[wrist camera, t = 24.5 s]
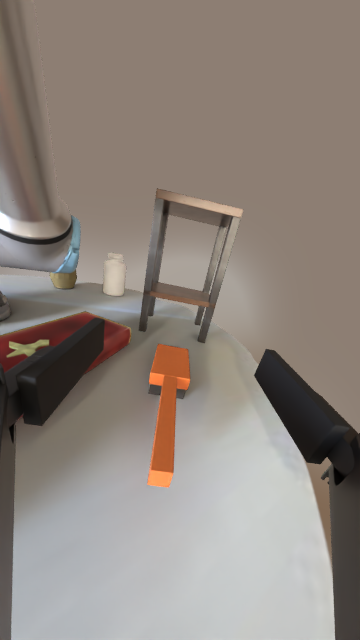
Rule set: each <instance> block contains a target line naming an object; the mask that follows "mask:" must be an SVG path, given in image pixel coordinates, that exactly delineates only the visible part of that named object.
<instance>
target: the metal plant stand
mask: <svg viewBox="0 0 360 640" xmlns="http://www.w3.org/2000/svg"><path fill="white" fill-rule="evenodd" d="M242 212H243V209H239V208H235V207H231V206H226V205H223V204H219V203H215V202H211V201H207V200H203V199H198V198H194V197H190V196H186V195H182V194H178V193H174V192H170V191H166V190H161V189H157V191H156V199H155V208H154V215H153V223H152V231H151V239H150V246H149V254H148V262H147V270H146V278H145V286H144V294H143V302H142V310H141V317H140V325H139V331H143V332H145V331H146V328H147V321H148V316H153V312H154V305H155V299H156V297H158V298H163V299H168V300H173V301H178V302H183V303H188V304H193V305H198V306H199V308H198V312H197V316H196V320H195V325H200V323H201V319H202V316H203V312H204V308H205V307H207V308H206V311H205V315H204V319H203V322H202V326H201V330H200V333H199V337H198V341H199V342H202V343H205V339H206V336H207V333H208V329H209V326H210V322H211V319H212V315H213V312H214V308H215V305H216V301H217V298H218V295H219V291H220V288H221V285H222V281H223V278H224V274H225V271H226V267H227V264H228V261H229V257H230V253H231V250H232V247H233V244H234V240H235V237H236V233H237V230H238V226H239V223H240V219H241V216H242ZM168 215H173V216H177V217H182V218H185V219H190V220H194V221H198V222H203V223H207V224H211V225H215V226H219V229H218V233H217V237H216V241H215V245H214V249H213V253H212V257H211V261H210V265H209V269H208V273H207V276H206V280H205V284H204V288H203V291H198V290H193V289H188V288H183V287H179V286H173V285H169V284H164V283H159V282H158V280H159V273H160V267H161V260H162V254H163V247H164V241H165V234H166V228H167V221H168ZM228 225H229V227H228V231H227V235H226V238H225V242H224V246H223V249H222V253H221V257H220V261H219V264H218V267H217V271H216V275H215V279H214V282H213V286H212V290H211V293H210V295H209V294H208V293H209V290H210V286H211V282H212V279H213V275H214V271H215V267H216V264H217V260H218V256H219V252H220V249H221V245H222V241H223V238H224V234H225V230H226V227H227V226H228Z"/></svg>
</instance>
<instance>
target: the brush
mask: <svg viewBox="0 0 360 640" xmlns="http://www.w3.org/2000/svg"><path fill="white" fill-rule="evenodd" d="M189 382H190V369H189V355H188V349H184V348H178V347H173V346H167V345H162V344H158V346H157V350H156V354H155V358H154V361H153V365H152V369H151V373H150V379H149V384H150V388H149V394H155V395H160V402H159V409H158V416H157V422H156V429H155V436H154V443H153V449H152V456H151V463H150V470H149V476H148V483H147V484H148V485H153V486H161V487H169V485H170V482H171V479H172V476H173V470H174V443H175V416H176V398H180V399H183V397H184V394H185V390H187V389H188V386H189Z"/></svg>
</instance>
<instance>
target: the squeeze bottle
mask: <svg viewBox="0 0 360 640" xmlns="http://www.w3.org/2000/svg"><path fill="white" fill-rule="evenodd" d="M50 278H51V280H52V282H53V284H54V286H55V287H57V288H62V289H70V288H73V287H74V285H75V282H76V279H77V275H76V270H75V271H74V272H72V273H52V272H50Z"/></svg>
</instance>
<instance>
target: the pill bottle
mask: <svg viewBox="0 0 360 640" xmlns="http://www.w3.org/2000/svg"><path fill="white" fill-rule="evenodd" d="M108 258H109V260H106V261H105V262H104V275H103V292H104V293H105V294H108V295H112V296H121V295H123V294H124V289H125V278H126V265H125V264H124V263H123V262H122V261H123V255H120V254H116V253H108Z"/></svg>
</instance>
